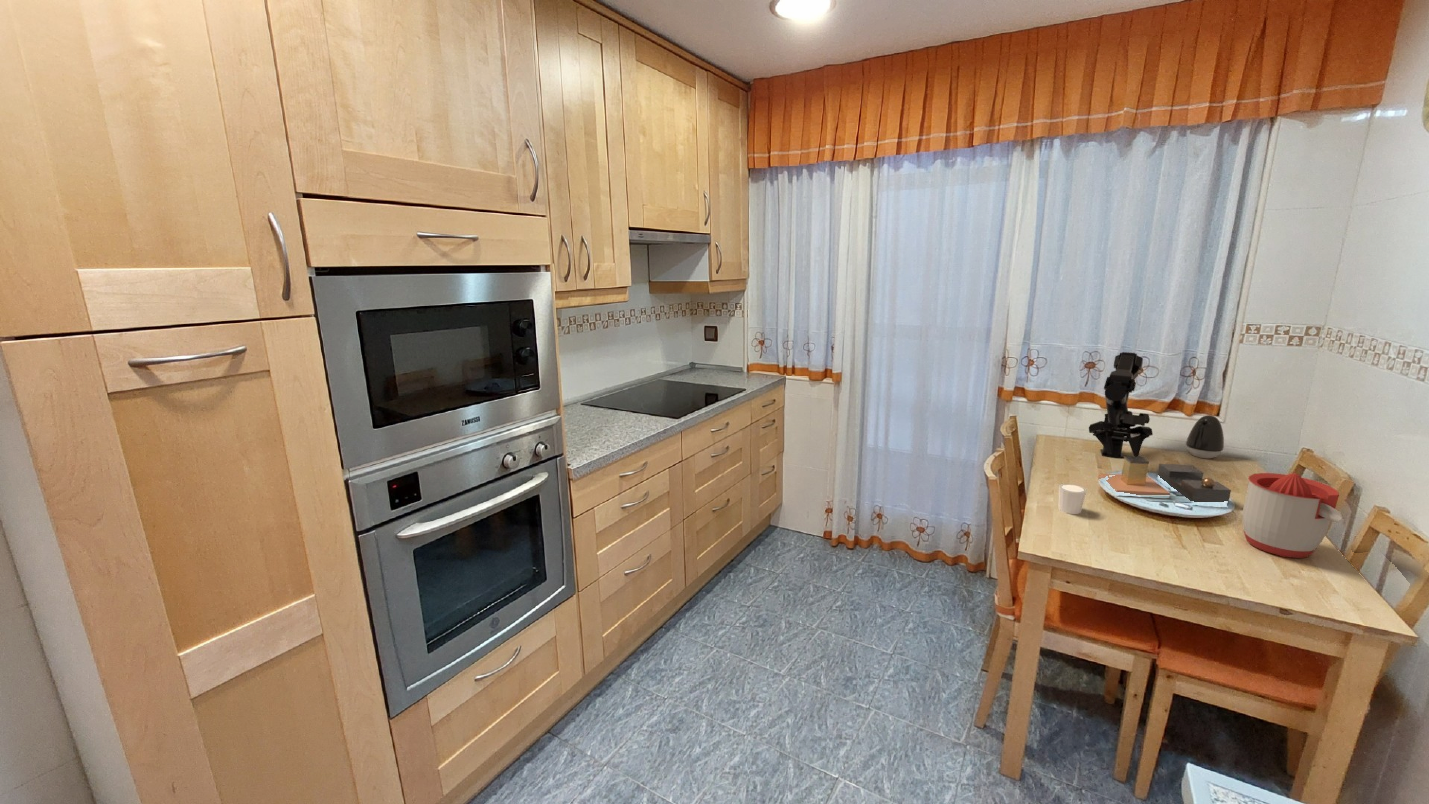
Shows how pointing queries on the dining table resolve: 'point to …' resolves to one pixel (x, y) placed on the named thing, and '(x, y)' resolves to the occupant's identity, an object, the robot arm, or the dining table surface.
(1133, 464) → the tan wooden block
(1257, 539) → the citrus juicer
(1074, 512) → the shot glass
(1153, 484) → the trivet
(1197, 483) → the body
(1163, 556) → the dining table surface
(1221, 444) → the dark grey egg shape
